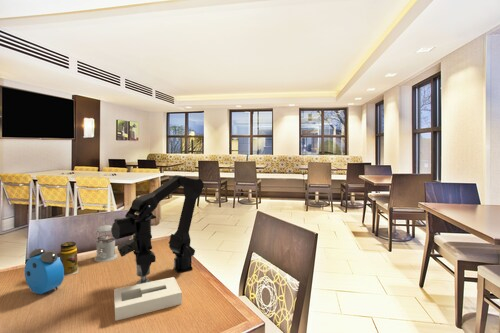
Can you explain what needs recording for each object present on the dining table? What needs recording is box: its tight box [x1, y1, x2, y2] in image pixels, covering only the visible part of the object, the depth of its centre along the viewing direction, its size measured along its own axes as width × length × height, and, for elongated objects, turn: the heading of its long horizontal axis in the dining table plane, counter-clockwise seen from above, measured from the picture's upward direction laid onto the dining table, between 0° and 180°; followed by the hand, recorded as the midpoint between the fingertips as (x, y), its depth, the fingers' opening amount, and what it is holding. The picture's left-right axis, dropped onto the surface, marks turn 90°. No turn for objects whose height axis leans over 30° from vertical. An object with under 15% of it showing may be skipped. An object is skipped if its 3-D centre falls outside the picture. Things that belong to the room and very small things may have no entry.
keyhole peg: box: [136, 265, 151, 285], centre depth 101 cm, size 5×5×9 cm
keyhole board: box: [113, 276, 183, 322], centre depth 91 cm, size 20×12×4 cm, turn 118°
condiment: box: [59, 241, 80, 276], centre depth 112 cm, size 7×8×12 cm
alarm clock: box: [24, 247, 64, 295], centre depth 97 cm, size 13×6×15 cm, turn 67°
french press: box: [93, 204, 119, 263], centre depth 127 cm, size 10×12×25 cm
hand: (143, 272), depth 101 cm, fingers closed on keyhole peg, 5 cm apart
